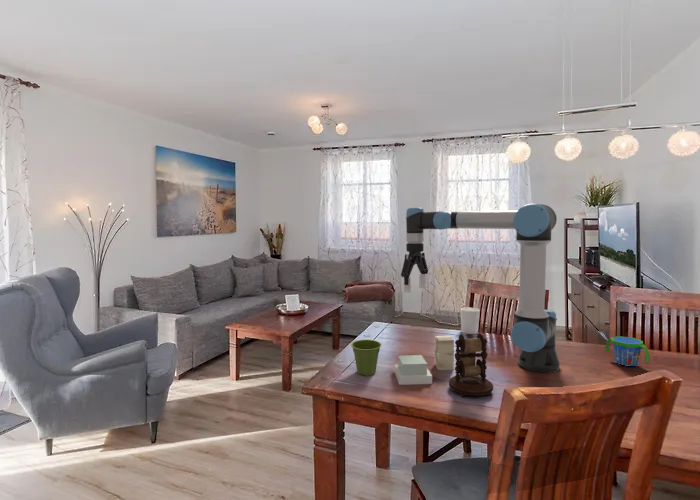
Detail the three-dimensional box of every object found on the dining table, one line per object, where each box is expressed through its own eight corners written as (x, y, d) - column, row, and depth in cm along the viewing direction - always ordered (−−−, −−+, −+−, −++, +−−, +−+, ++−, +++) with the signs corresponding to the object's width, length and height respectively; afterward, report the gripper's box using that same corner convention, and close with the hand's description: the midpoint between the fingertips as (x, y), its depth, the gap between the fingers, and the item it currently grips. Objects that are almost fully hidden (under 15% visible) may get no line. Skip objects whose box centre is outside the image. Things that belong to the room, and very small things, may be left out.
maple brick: (434, 364, 162) (434, 335, 161) (449, 364, 162) (449, 335, 161) (438, 370, 156) (438, 340, 155) (453, 369, 156) (453, 340, 155)
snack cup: (598, 359, 165) (599, 336, 165) (616, 356, 169) (617, 333, 168) (636, 373, 151) (637, 347, 150) (655, 369, 154) (656, 344, 153)
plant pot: (345, 371, 155) (344, 343, 154) (368, 364, 163) (368, 337, 162) (364, 381, 146) (364, 351, 145) (387, 373, 153) (387, 344, 152)
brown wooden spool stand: (481, 380, 146) (481, 327, 144) (501, 398, 131) (502, 339, 129) (442, 382, 144) (443, 329, 142) (458, 401, 129) (459, 341, 128)
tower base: (394, 371, 154) (394, 354, 154) (424, 371, 155) (424, 353, 154) (399, 384, 142) (399, 365, 142) (432, 383, 143) (432, 365, 142)
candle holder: (469, 335, 201) (469, 312, 200) (455, 330, 210) (456, 308, 209) (483, 332, 206) (483, 310, 205) (469, 328, 214) (470, 306, 213)
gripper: (420, 241, 187) (421, 285, 189) (392, 243, 168) (393, 293, 169) (435, 241, 183) (435, 287, 184) (408, 244, 163) (408, 295, 164)
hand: (415, 290), depth 177 cm, fingers open, 13 cm apart
